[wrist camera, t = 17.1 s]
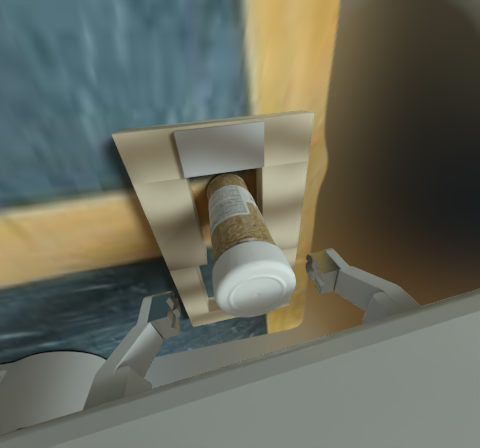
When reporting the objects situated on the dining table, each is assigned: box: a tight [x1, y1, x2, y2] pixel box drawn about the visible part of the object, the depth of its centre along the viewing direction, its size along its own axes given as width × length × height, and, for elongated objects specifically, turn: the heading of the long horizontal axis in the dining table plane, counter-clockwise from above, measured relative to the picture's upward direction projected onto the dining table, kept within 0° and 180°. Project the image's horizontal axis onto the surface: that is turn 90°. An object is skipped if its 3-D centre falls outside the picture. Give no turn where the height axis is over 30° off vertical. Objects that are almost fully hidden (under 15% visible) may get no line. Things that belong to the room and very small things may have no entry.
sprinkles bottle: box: [207, 173, 296, 317], centre depth 16 cm, size 5×5×14 cm
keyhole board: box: [112, 110, 314, 327], centre depth 24 cm, size 28×16×3 cm, turn 5°
